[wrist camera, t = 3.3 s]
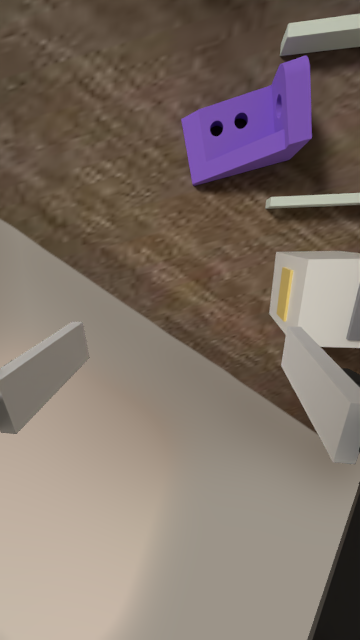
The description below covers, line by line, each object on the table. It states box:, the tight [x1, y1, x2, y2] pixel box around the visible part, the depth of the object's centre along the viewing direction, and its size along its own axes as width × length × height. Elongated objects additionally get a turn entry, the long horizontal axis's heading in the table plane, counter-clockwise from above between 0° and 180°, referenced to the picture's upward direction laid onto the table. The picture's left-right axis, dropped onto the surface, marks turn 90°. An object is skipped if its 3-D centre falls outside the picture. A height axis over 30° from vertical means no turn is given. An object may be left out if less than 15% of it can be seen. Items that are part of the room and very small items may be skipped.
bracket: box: [181, 55, 312, 186], centre depth 25 cm, size 12×7×7 cm, turn 102°
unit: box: [269, 251, 360, 348], centre depth 25 cm, size 9×8×17 cm
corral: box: [266, 14, 360, 209], centre depth 25 cm, size 16×15×2 cm
